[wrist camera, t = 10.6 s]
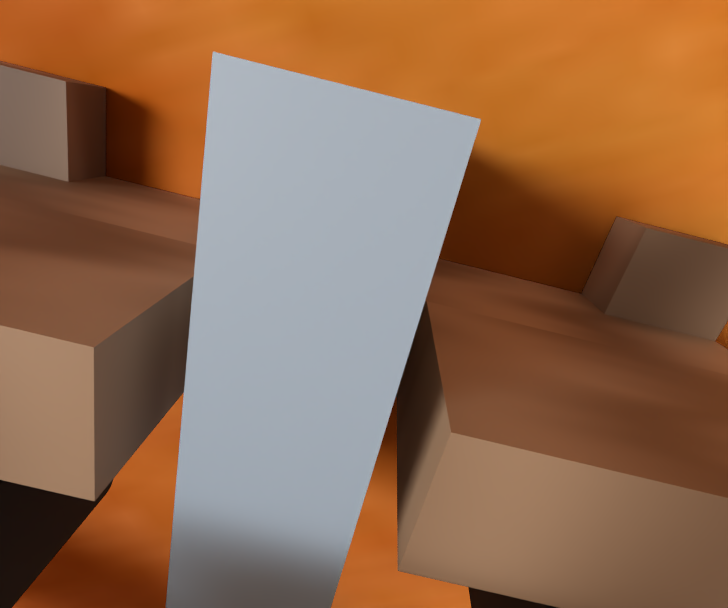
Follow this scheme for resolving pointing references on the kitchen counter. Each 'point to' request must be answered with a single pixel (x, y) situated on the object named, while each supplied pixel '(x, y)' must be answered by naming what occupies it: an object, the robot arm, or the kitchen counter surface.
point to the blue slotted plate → (300, 323)
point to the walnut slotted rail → (417, 386)
